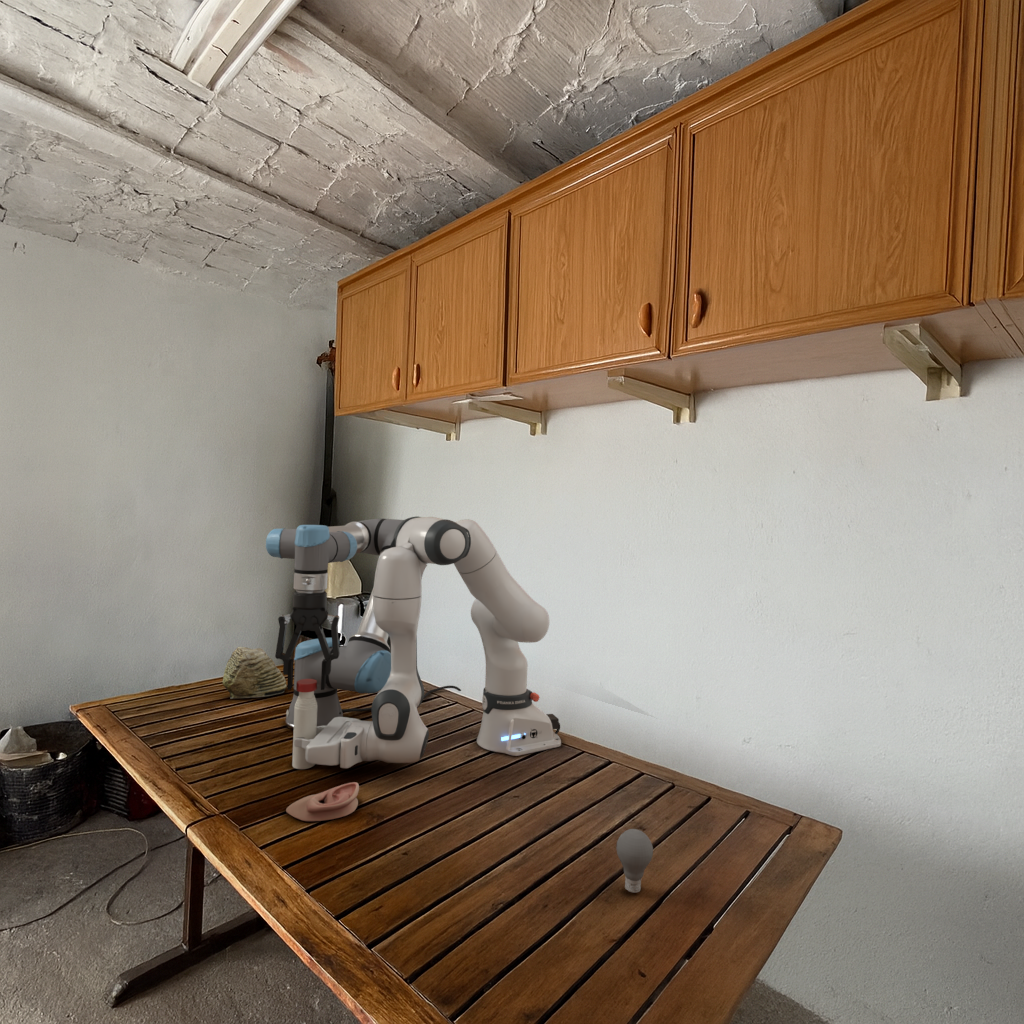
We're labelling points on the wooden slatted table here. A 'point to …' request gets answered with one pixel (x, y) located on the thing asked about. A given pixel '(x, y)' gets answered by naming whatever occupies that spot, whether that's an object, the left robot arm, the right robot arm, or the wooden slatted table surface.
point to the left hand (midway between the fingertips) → (306, 688)
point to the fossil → (252, 674)
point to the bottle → (304, 726)
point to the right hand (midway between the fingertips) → (301, 736)
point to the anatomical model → (326, 804)
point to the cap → (306, 685)
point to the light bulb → (634, 857)
